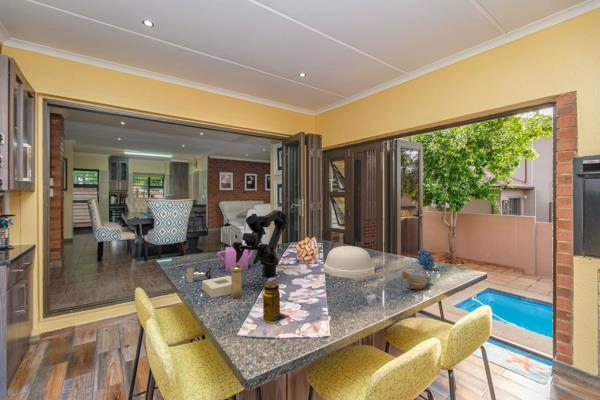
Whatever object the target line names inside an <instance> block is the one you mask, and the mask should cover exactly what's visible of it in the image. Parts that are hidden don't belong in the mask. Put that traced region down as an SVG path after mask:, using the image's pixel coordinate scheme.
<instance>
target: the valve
mask: <svg viewBox="0 0 600 400" xmlns="http://www.w3.org/2000/svg"><path fill="white" fill-rule="evenodd" d="M211 274H212V268H211V266H210V267H208V270H206V271H205V272H203V271H202V272H199V271H196V270H195V268H194V267H188V268H187V269H186V276H185V277H186V283H193V282H195V279H197V278H199V277H204V276H205V277H206V279H207V280H209V279H212V275H211Z"/></svg>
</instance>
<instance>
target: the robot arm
mask: <svg viewBox="0 0 600 400" xmlns="http://www.w3.org/2000/svg"><path fill="white" fill-rule="evenodd" d="M245 222H246V224H247V226H248V228H249V230H250V231H252V232H251V233H249V232H243V233H242V237H241V240H242V241H244V244H243V242H241V241H234V242H233V243H232V245H231V247H233V248H234V250H235V251H236V263H238V262H239V260H240V258H241V257H242V255H243V252H244V250H248V251H251V250H255V251H257V252H256V255H255V257H254V259H253V263H252V264H253V265H254V266H256V264H257V263H259V262H260V265H262V273H261V276H263V277H265V278H271V277H277V276H278V274H277V273H276V270H277V269H276V267H277V266H278V264H279V259H278V257H277V251H276V249H277V246H278V243H279V241H280V238H281V236H282V233H283V231H284V230H285V229H287V228H288V227H287V226H288V225H289V224H290V218H289V217H288V216H287V214H285V213H283V212H282V211H281V210H278V209H277V210H276V209H274V210H272V212H269V213H267V214H265V215H257V213H252V214H251V215H249V216H247V217H246V218H245ZM272 222H273V224H274V229H273V231H272V233H271V236H270V239H269V241H268V243H263V241H262V239H263V236H264V235H266V230H265V228H269V227H270V226H271V224H272ZM255 251H254V252H255Z"/></svg>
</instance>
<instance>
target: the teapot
mask: <svg viewBox="0 0 600 400" xmlns="http://www.w3.org/2000/svg"><path fill="white" fill-rule="evenodd" d="M254 253H255V250H250V252H249V250H244V252H243V255H242V257H241V258H240V260H239V262H238V263H236V251H235V250H234V248H233V247H232V246H226V247H225V250H221V251H218V252H217V254H216V255H217V257H218V258H219V259H220V260H221V261H223V262H225V272H226V273H227V272H231V270H230V267H231V266H243V270H242V272H244V271H249V262H251V260H253V256H254ZM222 254H225V257H223V255H222Z"/></svg>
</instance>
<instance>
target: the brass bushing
mask: <svg viewBox="0 0 600 400" xmlns="http://www.w3.org/2000/svg"><path fill="white" fill-rule="evenodd" d="M230 270H231V271H230V274H231V275H230V276H231V294H230V295H231V298H232V299H239V298H241V297H242V296H243V295H242V294H243V292H242V291H243V285H242V284H243V283H242V281H243V278H242V274H243V273H242V272H243V271H242V270H243V266H231V267H230Z"/></svg>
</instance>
